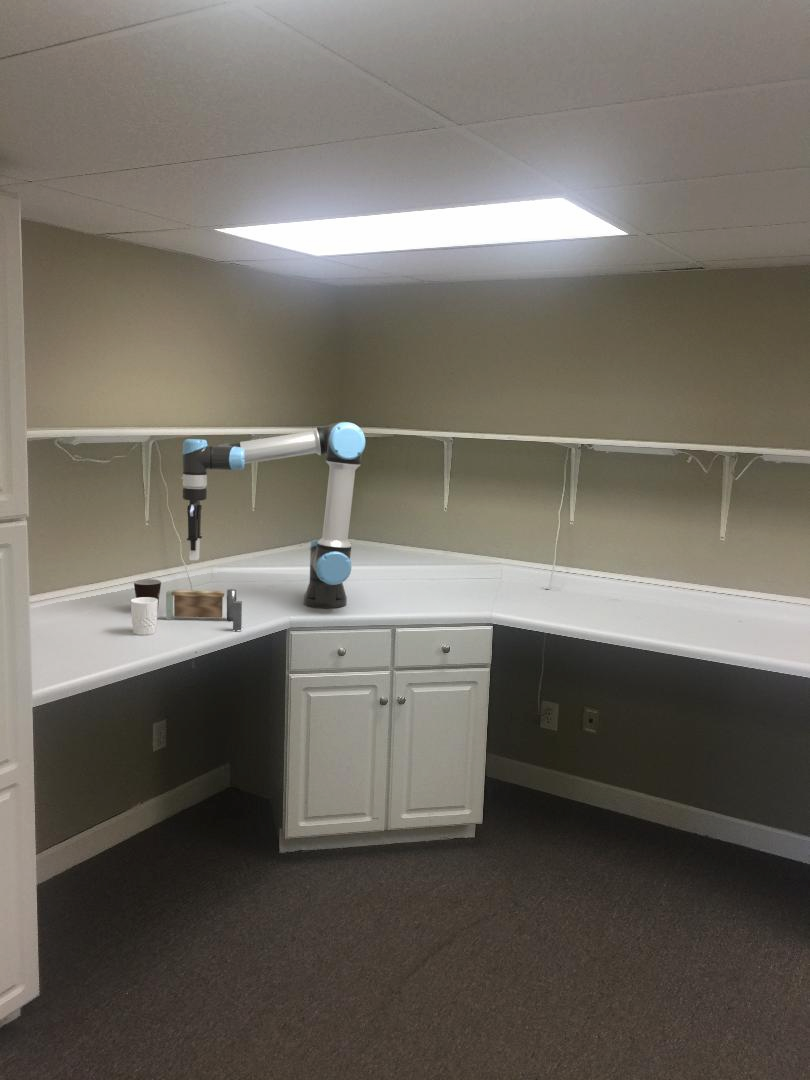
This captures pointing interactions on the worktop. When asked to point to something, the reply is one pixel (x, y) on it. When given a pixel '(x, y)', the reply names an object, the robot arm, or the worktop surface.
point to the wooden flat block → (198, 603)
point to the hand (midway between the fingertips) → (194, 559)
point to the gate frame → (232, 608)
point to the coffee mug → (147, 588)
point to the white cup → (144, 615)
